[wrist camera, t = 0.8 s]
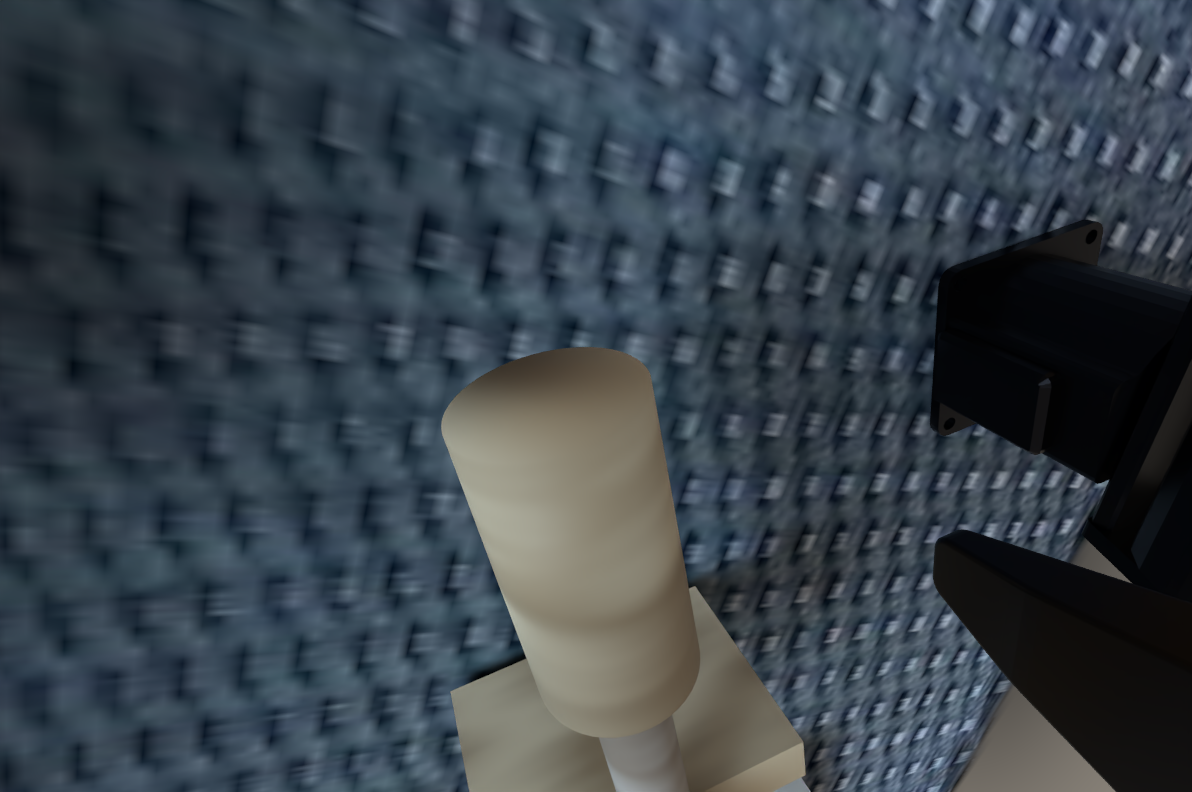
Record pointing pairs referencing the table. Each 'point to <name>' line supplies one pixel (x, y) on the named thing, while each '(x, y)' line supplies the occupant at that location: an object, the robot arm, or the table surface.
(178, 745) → the table surface
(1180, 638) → the robot arm
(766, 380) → the table surface
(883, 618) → the table surface
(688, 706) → the rod
